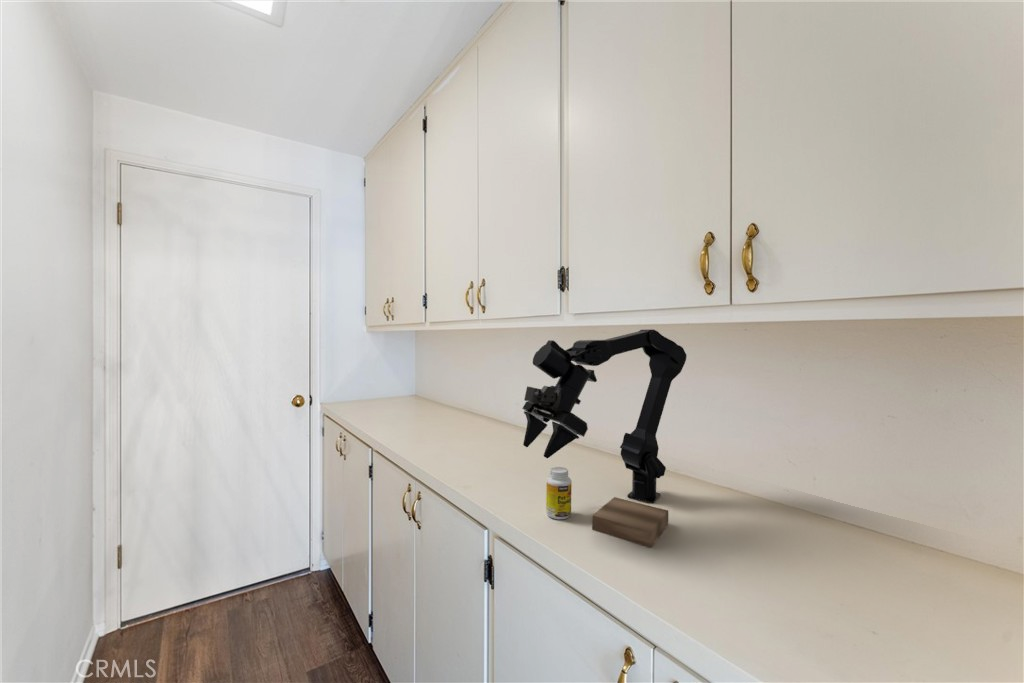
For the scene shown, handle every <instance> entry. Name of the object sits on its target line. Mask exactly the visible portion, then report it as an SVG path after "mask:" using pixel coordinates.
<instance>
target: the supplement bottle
mask: <svg viewBox="0 0 1024 683" xmlns="http://www.w3.org/2000/svg"><path fill="white" fill-rule="evenodd" d="M549 472H550V473H549V476H548V477H547V478H546V497H545V498H546V501H545V502H546V503H545V505H546V506H545V508H546V509H545V513H546V515H547V516H548V517H549V518H551V519H554V520H566V519H568V518H570V517H571V514H572V487H573V486H572V485H573V484H572V479H571V478H570V477H569V469H568V468H566V467H564V466H554V467H551V468H550V471H549Z"/></svg>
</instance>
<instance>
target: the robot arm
mask: <svg viewBox="0 0 1024 683" xmlns="http://www.w3.org/2000/svg"><path fill="white" fill-rule="evenodd" d="M638 349H642V350H643V353H644V354H645V356H647V357H648V358H649V361H648V362H649V363H648V366H649V369H650V373H651V376H650V380H649V383H648V387H647V390H646V393H645V397H644V398H643V399H644V400H643V403H642V406H641V410H640V413H639V415H638V416H639V417H638V420H637V423H636V426H635V428H634V429H633V431H632V432H631V433H628V432H625V433H624V435H623V440H622V443H621V445H620V446H619V449H620V456H621V458H622V459H621V460H622V461H623V462H624V466H625V469H628V470H630V471H632V479H631V480H632V487H631V488H632V489H631V491H630V492H628V494H627V498H629V499H634V500H637V501H642V502H646V503H650V504H654V503H656V501H657V500H658V499H659V498H660V497H661V495H662V494H661V493H660V492H657V479H661V477H664V476H665V472H666V469H667V467H666V465H664V463H663V462H662V461H661V460H660V458H658V456H659V444H658V440H657V436H656V435H657V433H658V429H659V425H660V422H661V419H662V414H663V412H664V409H665V405H666V401H667V398H668V394H669V391H670V388H671V385H672V382H673V380H674V379H675V378H676V377H678V376H679V374H681V372H682V370H683V368H684V365H685V364H686V362H687V353H686V352H685V350H684V347H683V346H681V345H679V344H677V343H676V342H675V341H674V340H672V339H670V338H668V337H666V336H664V335H663V334H661V333H660V332H659V331H658V330H656V329H640V330H638V331H635V332H631V333H626V334H621V335H618V336H614V337H611V338H606V339H584V340H583V339H580V340H576V341H575V342H574V343H573V345H572V346H571V347H570V348H567V349H564V348H563V347H561V346H560V345H559V344H558V343H557V342H556V341H555V340H554V339H553V340H551V339H549V340H547V342H546V343H545V344H544V345H543V346H541V347H540V348H539V349H538V350H537V351H536V352H535V353H534V356H533V358H532V365H533V366H535V367H536V368H537V369H538V370H541V372H543V373H545V374H546V375H547V376H549V377H550V378H552V379H558V378H559V379H558V380H557V381H556V382H557V383H556V384H555V385H550V386H548V385H547V386H546V385H543V386H542V387H541V388H538V387H537V388H536V387H533V386H526V389H525V395H524V401H525V403H524V405H523V407H522V409H523V413H524V415H525V417H526V421H527V422H526V429H525V433H524V440H523V443H522V444H523V446H524V447H525V448H528V447H529V446H530V445H531V444H533V442H534V441H535V440H536V439H537V438H538V437H539V435H540V434H541V433H542V432H543V431H544V430H546V428H547V427H548V424H547V423H548V422H550V421H551V423H552V424H551V425H552V434H551V436H550V438H549V440H548V442H547V444H546V445H547V446H546V448H545V450H544V453H543V457H544V458H545V459H549V458H550V457H552V456H554V455H555V454H556V453H558V452H559V451H560V450H562V448H564V447H565V446H567V445H569V444H570V443H572V442H574V441H575V440H578V439H580V437H582V438H584V437H585V435H586V433H587V432H588V430H589V428H588V422H587V421H585V420H583V419H581V417H579V416H578V415H576V414H575V413H573V412H572V410H573V408H574V407H575V405H580V404H581V402H582V400H581V399H579V397H580V395H581V393H582V391H583V390H584V388H585V386H586V384H587V382H592V383H593V382H594V383H596V382H597V381H598V380H597V377H596V374H595V370H594V369H587V368H586V367H584V366H591V367H598V366H600V365H602V364H604V363H606V362H608V361H609V360H610V359H611V358H612V357H614V356H615V355H619V354H623V353H624V354H625V353H627V352H630V351H631V352H632V351H635V350H638ZM573 362H574V363H573ZM575 363H576V364H575Z"/></svg>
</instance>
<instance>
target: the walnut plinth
mask: <svg viewBox="0 0 1024 683" xmlns="http://www.w3.org/2000/svg"><path fill="white" fill-rule="evenodd" d="M591 517H592V518H591V519H592V521H591V530H592V531H594V532H595V531H596V532H599V533H601V534H605V535H608V536H612V537H614V538H618V539H620V540H625V541H628V542H631V543H634V544H637V545H640V546H644V547H647V548H649V549H651V548H652V547H653V545H654V544H655V543H656V541H657V540H658V539H659V538H660V536H661V535H662V534H663V532H664V531H665V530H666V528H667V527H668V525H669V510H667V509H663V508H660V507H656V506H652V505H649V504H648V505H647V504H644V503H640V502H636V501H632V500H628V499H623V498H620V497H616V496H614V497H613V498H611V499H610V500H609V501H608V502H607V503H605V504H604V505H603V506H602V507H601V508H599V509H597V511H595V512H594V513H593V514H592V516H591Z"/></svg>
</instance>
